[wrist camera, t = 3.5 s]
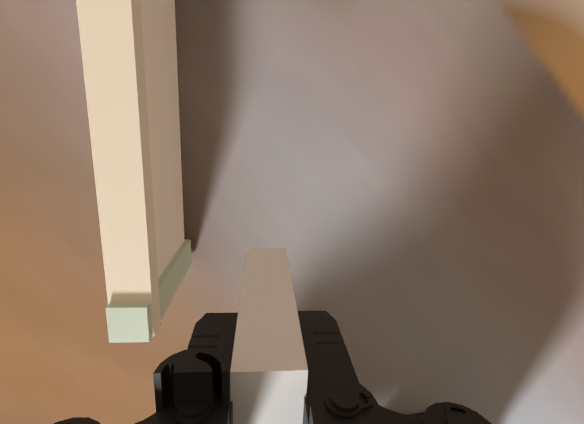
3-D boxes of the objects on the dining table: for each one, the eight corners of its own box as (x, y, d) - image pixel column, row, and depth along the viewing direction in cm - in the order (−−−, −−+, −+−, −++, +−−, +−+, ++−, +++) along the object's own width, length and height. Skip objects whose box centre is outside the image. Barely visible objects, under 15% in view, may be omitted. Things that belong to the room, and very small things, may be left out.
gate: (139, -110, 21) (-7, -387, 10) (184, -105, 22) (93, -371, 10) (161, 262, 27) (88, 359, 16) (196, 262, 28) (148, 358, 16)
